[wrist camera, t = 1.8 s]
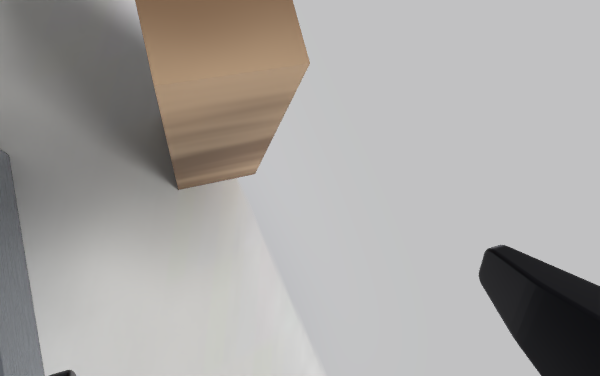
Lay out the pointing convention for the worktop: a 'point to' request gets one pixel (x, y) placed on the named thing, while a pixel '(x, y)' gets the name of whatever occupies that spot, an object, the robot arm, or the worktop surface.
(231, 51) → the walnut peg
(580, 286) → the robot arm
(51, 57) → the worktop surface
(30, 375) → the block
